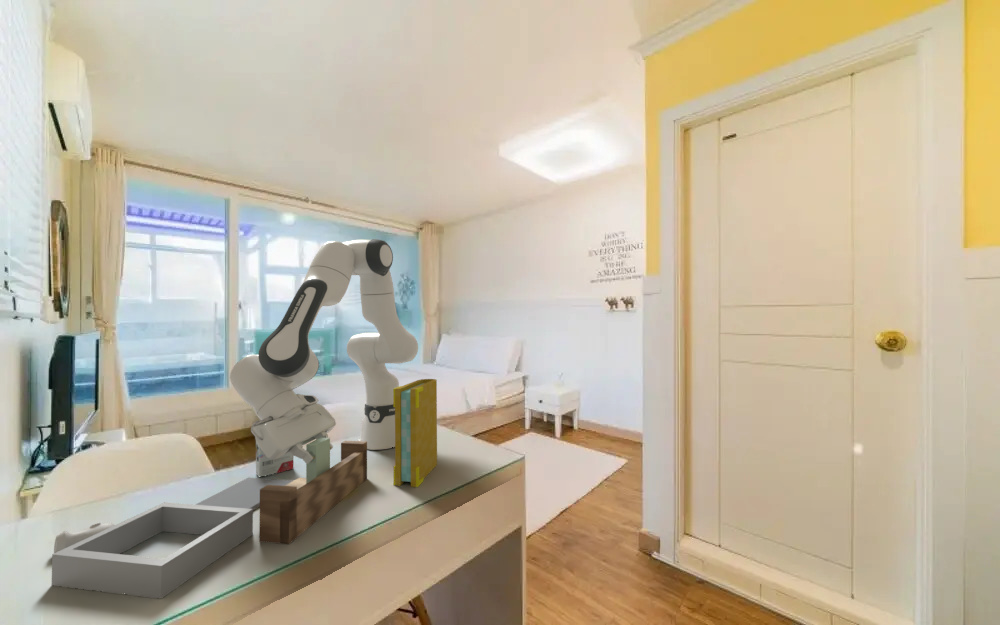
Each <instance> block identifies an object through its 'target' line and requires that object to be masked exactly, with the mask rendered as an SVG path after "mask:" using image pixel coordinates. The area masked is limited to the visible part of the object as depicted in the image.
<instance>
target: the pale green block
mask: <svg viewBox="0 0 1000 625" xmlns="http://www.w3.org/2000/svg"><path fill="white" fill-rule="evenodd" d="M330 443H331V437H328V438H321V437H320V438H318V439H315V440H313V441H311V442H309V443H307V444H305V446H306V449H305V450H306V451H308V452H311V451H312V452H313V454H314V455H315V456H316V457H315V459H314V460H313V461H312V462H310V463H308V464H306V463H305V466H306V469H305V470H306V474H305V478H306V484H307V483H309V482H310V481H312V480H313V479H315V478H316V477H318V476H319V475H321V474H322V473H324V472H325V471H327V470H328V469H330V468H331V450H330Z"/></svg>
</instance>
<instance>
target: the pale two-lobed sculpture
mask: <svg viewBox="0 0 1000 625" xmlns="http://www.w3.org/2000/svg"><path fill="white" fill-rule="evenodd" d="M115 525H116V524H115V523H113V522H106V523H101V522H99V523H98V522H97V523H94V524H92V525H90V526H89V527H87V528H84V529H83V530H81V531H77V532H70V531H66V530H63V531H62V532H61V533H59V534H58V535H56V537H55V540H54V545H53V554H54V553H56V552H58V551H61V550H63V549H65V548H67V547H69V546H71V545H74V544H76V543H78V542H80V541H82V540H84V539H87V538H89V537H91V536H93V535H95V534H97V533H99V532H102V531H104V530H106V529H108V528H110V527H112V526H115Z"/></svg>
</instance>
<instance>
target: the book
mask: <svg viewBox="0 0 1000 625" xmlns="http://www.w3.org/2000/svg"><path fill="white" fill-rule="evenodd" d="M437 388H438V387H437V379H435V378H422V379H417V380H415V381H412V382H410V383H407V384H404V385H399V387H397V388H394V389H393V407H395V447H394V456H395V457H394V466H393V486H397V487H399V486H400V487H401V486H402V485H403V484H404V483H405V482H409V483H410V487H411V488H418V487H420V485H421V484H422V483H423V482H424V480H425V478H426V477H427V476H428V475H429V474H430V473H431V472H432V471H433V470H434V469H435V468H436V467H437V466H438V409H437V408H438V403H437V402H438V401H437V400H438V399H437V398H438V396H437V393H438V392H437V390H438V389H437Z"/></svg>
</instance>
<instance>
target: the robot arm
mask: <svg viewBox="0 0 1000 625" xmlns="http://www.w3.org/2000/svg"><path fill="white" fill-rule="evenodd" d="M393 253H394V252H393V250H392V248H391V246H390V245H389V244H388V243H387V242H386V241H385V240H382V239H378V238H373V239H354V240H348V241H340V240H339V241H337V240H330V241H327V242H325V243H323V244H322V246H321V247H320V248H319V249H318V251H317V253H316V254H315V256H314V258H313V259H312V262H311V264H310V265H309V268H308V269H307V272H306V275H305V276H304V280H303V282H302V283H301V285H300V287H299V288H298V290H297V291H296V293H295V294H294V297H293V299H292V301H291V303H290V305H289V306H288V309H287V310H286V312H285V314H284V316H283V317H282V319H281V321H280V323H279V325H278V326H277V327H276V329H275V330H273V332H271V334H270V335H268V336H267V337H266V338H265V339H264V340H263V342H262V344H261V345H260V347H259V349H258V354H248V355H246V356H244V357H242V358H240V360H239V361H237V362H236V363H235V365H233V367H232V368H231V370H230V374H229V379H230V382H231V384H232V387H233V388H234V390H235V391H236V393H237V394H238V395H239V397H240V398H241V399H242V400H243V401H244V402H245V403H246V405H249V406H250V407H252V409H253V411H254V413H255V415H256V416H257V417H258V418H259V420H256V421H255V422H254V421H253V423H252V425H251V426H250V427H251V428H250V432H251V433H252V435H253V436H254V439H255V442H256V441H257V443H258V445H259V446H260V448H261V450H262V451H263V453H264V454H265V455H266V457H267V458H269V459H272V460H275V459H277V458H279V457H281V456H283V455H285V454H287V453H289V452H291V453H292V454H293V457H294V456H295V457H296V458H299V459H301V460H302V461H303V462H304V463H305V465H306V464H308V463H310V462H312V461H313V460H314V459H315V457H316V456H315V455H314V454H313V452H312V451H311V452H308V451H306V449H305V448H304V446H306V445H307V444H309V443H311V442H313V441H314V440H316V439H318V438H320V437H321V438H329V433H330V432H331V431H332V430H334V429H333V428H334V427H336V424H337V422H336V419H335V417H333V415H332V414H331V413H330V412H329V410H327V408H326V407H325V406H323V404H320V403H319V398H317V396H315V395H311V394H307V395H306V394H300V393H296V392H295V391H294V389H296V388H299V387H300V386H302V385H304V384H306V383H308V382H309V381H310V380H312V379H313V378H314V377H315V376H316V374H317V373H318V371H319V368H320V362H319V358H318V357H317V355H316V353H315V352H314V351H313V350H312V349H311V347H310V344H309V334H310V331H311V329H312V328H313V325H314V323H315V321H316V318H317V317H318V314H319V312H320V310H321V308H322V307H332V306H336V305H337V304H339V303H341V301H342V300H343V297H344V296H345V295H346V292H347V290H348V287H349V285H350V282H351V279H352V276H359V291H360V292H359V294H360V303H361V313H362V314H361V315H362V317H363V318H364V319H365V321H367V322H369V323H371V324H373V326H374V327H375V328H376V330H377V332H376V331H375V332H369V331H368V332H367V331H366V332H361V333H357V334H354V335H352V336H351V337H350V338H349V340H348V341H347V344H346V353H347V355H348V357H349V359H350V360H351V361H352V362H354V363H355V364H356V365H357V366H358V369H359V370H360V373H361V374H362V377H363V380H364V384H365V385H364V386H365V404H364V409H363V411H364V415H365V416H364V417H363V418H362V419H361V425H360V426H361V427H360V435H359V438H357V440H356V441H366V442H367V450H370V451H371V450H372V451H373V450H374V451H375V450H376V451H377V450H387V449H393V448H395V407H393V389H394V388H397V387H399V386H400V382H399V380H398V377H396V376H395V375H394V374H392V373H391V372H390V371H388V369H387V367H386V364H393V365H394V364H403V363H408V362H412V361H413V360H414V359H415V358H416V356H417V354H418V351H419V344H418V340H417V339H416V336H414V335H413V334H412V333H411V332H409V331H408V330H407V329H406V328H405V327H404V326H403V324H402V322H401V320H400V319H399V316H398V313H397V307H396V301H395V300H396V299H395V291H394V289H395V288H394V283H393V277H392V275H391V271H390V269H391V268H392V267H391V266H392V265H393V261H394V255H393ZM392 447H393V448H392ZM333 448H334V446H333V444H332V443H331V442H330V451H331V450H333Z"/></svg>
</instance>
